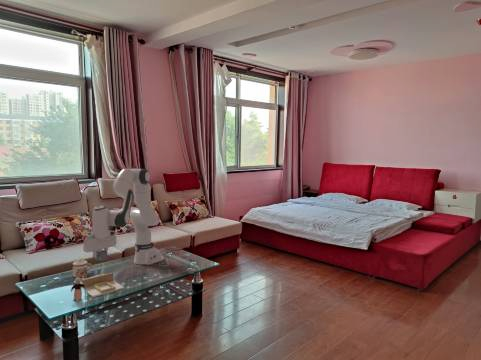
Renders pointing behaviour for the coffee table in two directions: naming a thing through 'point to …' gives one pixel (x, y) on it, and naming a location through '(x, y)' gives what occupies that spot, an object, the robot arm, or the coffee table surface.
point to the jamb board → (100, 285)
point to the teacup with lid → (80, 268)
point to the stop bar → (101, 255)
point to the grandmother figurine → (77, 289)
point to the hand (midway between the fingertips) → (100, 256)
